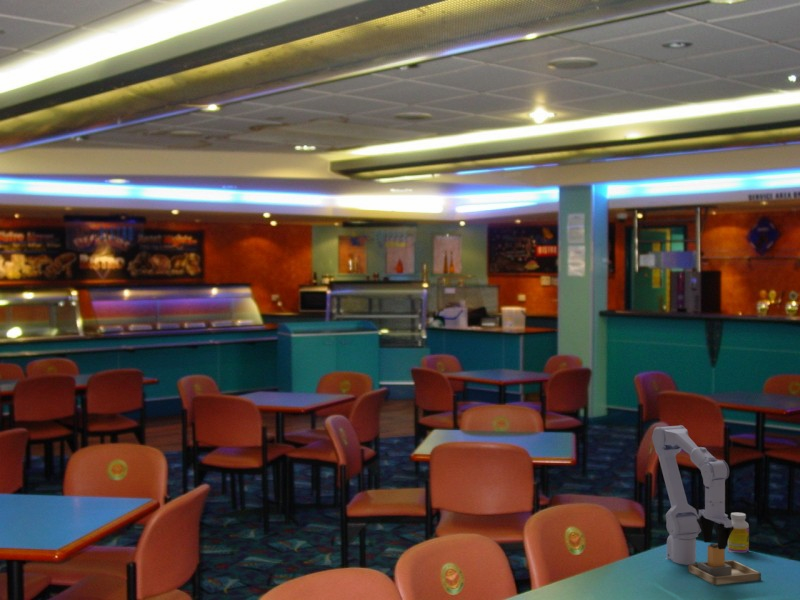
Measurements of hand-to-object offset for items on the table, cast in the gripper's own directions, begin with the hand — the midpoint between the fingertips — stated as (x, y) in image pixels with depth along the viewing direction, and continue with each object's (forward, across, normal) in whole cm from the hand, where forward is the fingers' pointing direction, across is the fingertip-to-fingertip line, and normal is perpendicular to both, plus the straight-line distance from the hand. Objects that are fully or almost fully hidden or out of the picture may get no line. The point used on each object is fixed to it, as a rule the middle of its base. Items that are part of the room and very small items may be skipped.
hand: (714, 545), depth 304 cm
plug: (+7, 0, 0) cm, 7 cm away
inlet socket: (+9, 0, 0) cm, 9 cm away
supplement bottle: (+11, +22, -24) cm, 34 cm away
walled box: (+10, 0, -3) cm, 11 cm away
